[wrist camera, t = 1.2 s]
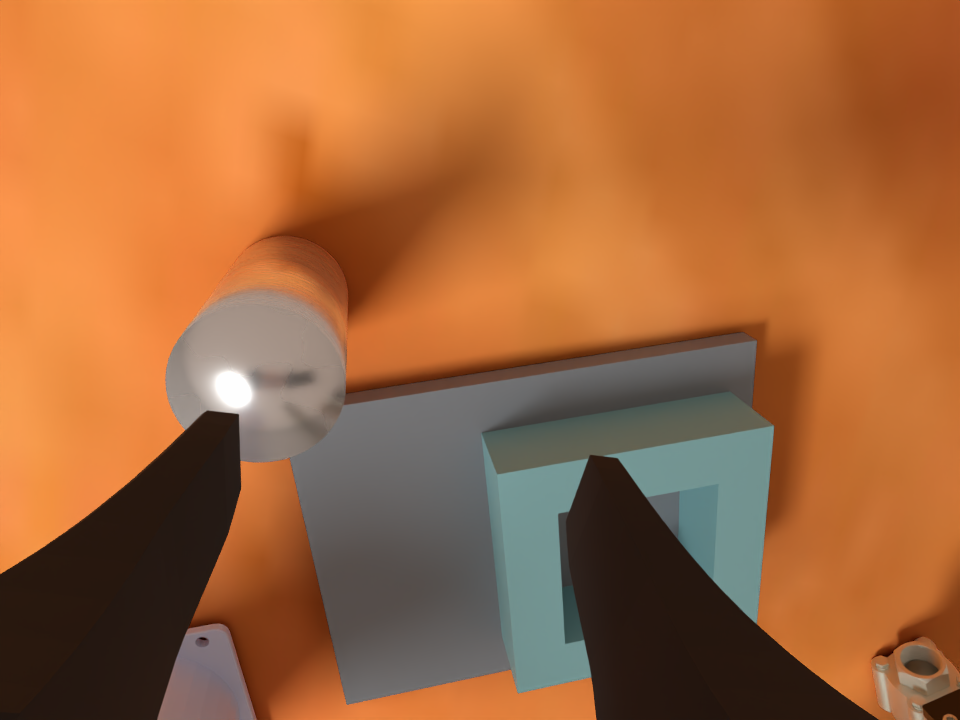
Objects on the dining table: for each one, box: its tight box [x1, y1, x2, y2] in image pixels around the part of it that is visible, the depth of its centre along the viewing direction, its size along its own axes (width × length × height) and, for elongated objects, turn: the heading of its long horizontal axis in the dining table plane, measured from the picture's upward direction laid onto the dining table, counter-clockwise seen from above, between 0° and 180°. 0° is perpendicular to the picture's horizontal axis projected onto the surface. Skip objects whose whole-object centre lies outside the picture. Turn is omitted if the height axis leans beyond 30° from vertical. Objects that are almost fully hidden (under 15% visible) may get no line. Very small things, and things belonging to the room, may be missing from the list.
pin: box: [165, 236, 348, 462], centre depth 19 cm, size 4×4×8 cm
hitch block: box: [290, 332, 774, 705], centre depth 26 cm, size 18×14×4 cm
